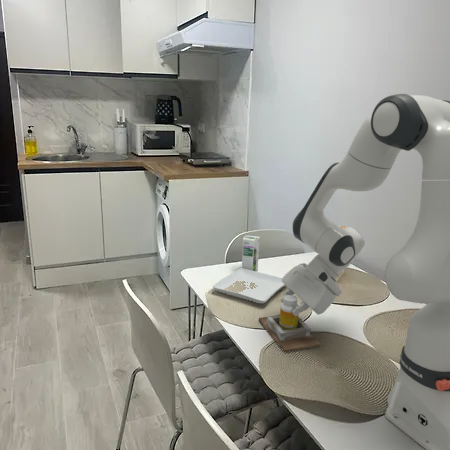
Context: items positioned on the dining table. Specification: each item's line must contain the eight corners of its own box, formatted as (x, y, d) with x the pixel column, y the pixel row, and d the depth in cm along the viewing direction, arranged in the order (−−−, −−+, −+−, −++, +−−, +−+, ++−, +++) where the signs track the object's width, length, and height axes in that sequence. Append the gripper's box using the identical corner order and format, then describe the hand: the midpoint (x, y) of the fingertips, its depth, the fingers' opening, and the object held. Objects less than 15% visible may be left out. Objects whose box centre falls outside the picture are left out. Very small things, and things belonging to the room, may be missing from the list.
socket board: (319, 346, 119) (320, 335, 118) (284, 353, 115) (285, 342, 114) (289, 315, 135) (290, 306, 134) (258, 320, 132) (259, 310, 131)
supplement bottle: (296, 333, 122) (299, 303, 119) (278, 330, 123) (280, 301, 120) (297, 323, 127) (300, 294, 124) (279, 321, 128) (281, 292, 125)
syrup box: (241, 273, 167) (242, 238, 163) (244, 267, 172) (246, 234, 168) (254, 275, 165) (256, 240, 161) (258, 269, 171) (259, 236, 166)
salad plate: (239, 274, 166) (240, 266, 165) (289, 287, 156) (290, 279, 155) (210, 294, 149) (211, 285, 148) (264, 310, 139) (264, 301, 138)
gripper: (296, 255, 131) (266, 287, 131) (333, 282, 112) (298, 319, 112) (308, 267, 133) (278, 298, 133) (345, 295, 115) (311, 331, 115)
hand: (287, 308), depth 123 cm, fingers closed on supplement bottle, 5 cm apart
